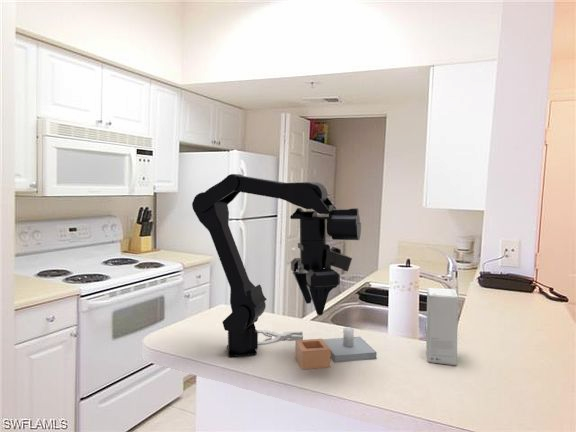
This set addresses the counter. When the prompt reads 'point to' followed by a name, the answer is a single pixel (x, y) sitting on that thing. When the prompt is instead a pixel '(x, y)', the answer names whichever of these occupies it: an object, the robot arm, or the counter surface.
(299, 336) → the pliers
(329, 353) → the collar
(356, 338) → the grey peg base
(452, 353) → the skincare box
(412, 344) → the counter surface
